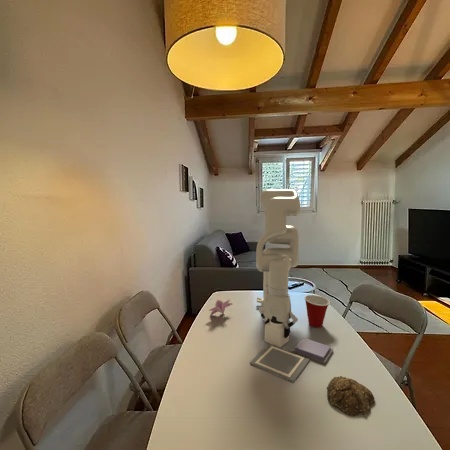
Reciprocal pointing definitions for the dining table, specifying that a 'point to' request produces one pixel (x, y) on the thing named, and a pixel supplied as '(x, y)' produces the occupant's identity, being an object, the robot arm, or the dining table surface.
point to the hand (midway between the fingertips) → (277, 333)
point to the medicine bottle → (275, 333)
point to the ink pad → (313, 350)
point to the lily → (220, 307)
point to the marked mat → (280, 362)
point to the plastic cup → (316, 309)
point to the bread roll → (349, 396)
